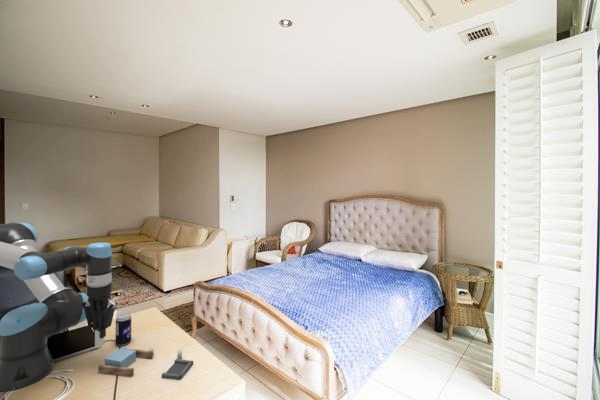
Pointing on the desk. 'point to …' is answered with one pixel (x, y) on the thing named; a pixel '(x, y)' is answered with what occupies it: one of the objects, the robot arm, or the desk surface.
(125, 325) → the beverage can
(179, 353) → the goal posts
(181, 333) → the desk surface
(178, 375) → the tray
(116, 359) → the block
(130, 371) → the parallel brown rails
